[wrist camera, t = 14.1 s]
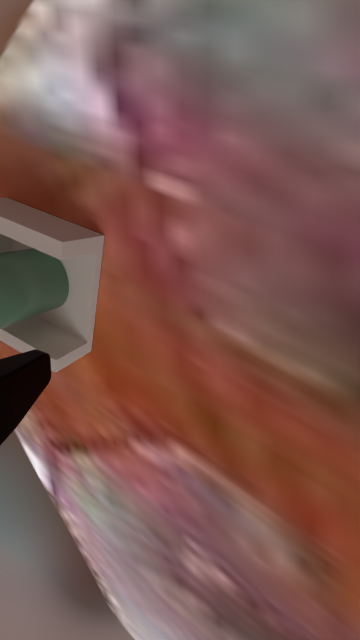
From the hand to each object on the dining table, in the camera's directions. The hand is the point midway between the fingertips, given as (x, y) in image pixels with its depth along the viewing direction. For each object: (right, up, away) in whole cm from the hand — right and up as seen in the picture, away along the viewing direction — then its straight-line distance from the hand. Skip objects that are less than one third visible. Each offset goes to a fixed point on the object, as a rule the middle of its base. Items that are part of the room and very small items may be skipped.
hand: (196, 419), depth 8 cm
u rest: (-11, +6, +19) cm, 23 cm away
